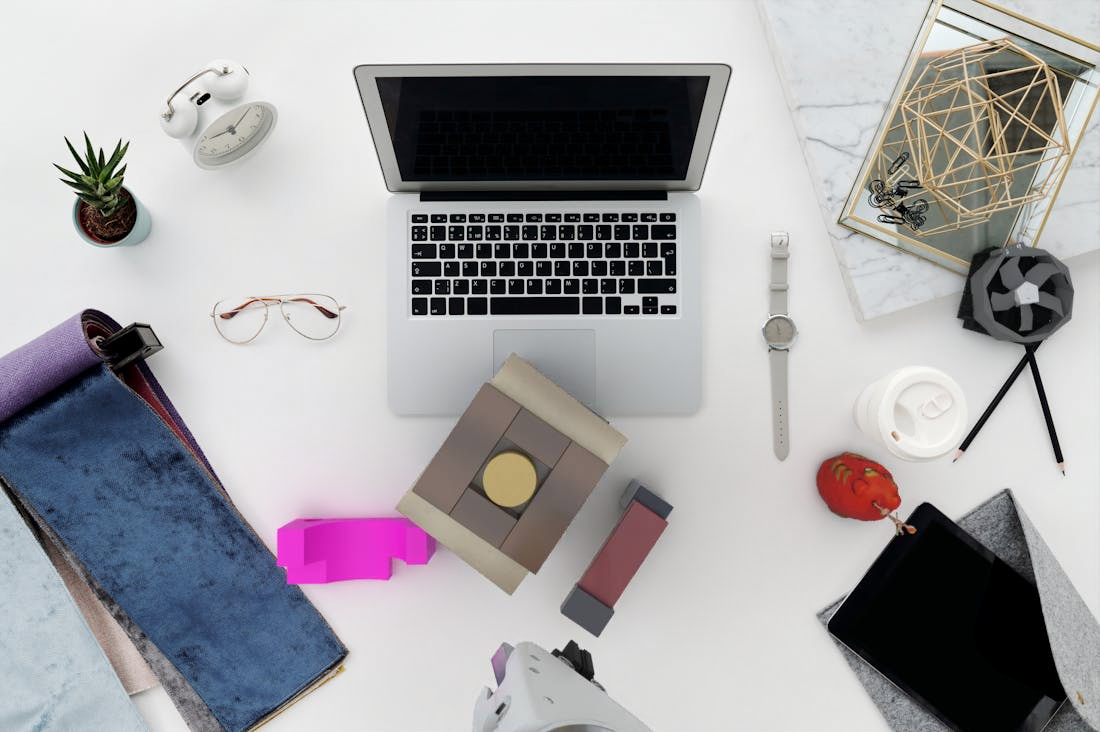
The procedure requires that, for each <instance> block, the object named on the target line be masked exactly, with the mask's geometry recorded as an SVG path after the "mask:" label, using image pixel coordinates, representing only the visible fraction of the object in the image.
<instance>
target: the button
mask: <svg viewBox="0 0 1100 732" xmlns="http://www.w3.org/2000/svg"><path fill="white" fill-rule="evenodd" d="M536 482H537V472H536V467H535V465H534V463H533V461H532V460H531V459H530V458H529V457H528V456H527V455H526V454H524V453H522V452H520V451H516V450H506V451H503V452H500V453H499V454H497V455H496V456H494V457H493V458H492V459H491V461H490V462H489V464H488V465H487V467H486V469H485V471H484V474H483V486H484V489H485V492H486V494H487V495H488V497H489V498H490V499H491V500H492V501H493V502H495V503H497V504H498V505H501V506H505V507H515V506H518V505H521V504H523V503H525V502H526V501H527V500H528V499H529V498H530V497H531V496H532V494H533V493H534V490H535V487H536Z"/></svg>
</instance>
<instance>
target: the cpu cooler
mask: <svg viewBox="0 0 1100 732" xmlns="http://www.w3.org/2000/svg"><path fill="white" fill-rule="evenodd" d="M962 293H963V294H962V296H961V300H960V302H959V307H958V310H957V316H956V318H957V319H960V320H961V321H962V320H963V324H962V326H961V327H962V329H964V330H969V331H972V332H975V333H979V334H982V335H986V336H988V337H992V338H994V339H995V340H996V341H1005V342H1011V343H1013V344H1018V345H1022V346H1025V347H1032V346H1038V345H1039V342H1040V341H1046V340H1049V337H1051V336H1052V335H1053V334H1055V333H1056V332H1057V331H1059V330H1060V329H1062V328H1063V326H1065V325H1066V324H1068V323H1069V322H1070V321H1072V318H1073V309H1074V308H1073V307H1074V297H1075V289H1074V285H1073V281H1072V277H1071V273H1070V269H1069V267H1068V266H1067V265H1066V264H1065V263H1064V262H1062V261H1061V260H1060V259H1058V258H1057V257H1056V256H1054V255H1053V254H1052V253H1050V252H1049V251H1048V250H1046V249H1044V248H1038V247H1032V246H1029V245H1026V243H1025V242H1024V241H1020V242H1017V243H1013V244H1010V245H1007V246H1004V247H1003V246H1002V247H1000V246H996V245H993V246H989V247H986V248H983V249H982V251H980V252H977V253H974V254H973V255H972V260H971V262H970V265H969V270H968V274H967V278H966V280H965V284H964V288H963V291H962Z"/></svg>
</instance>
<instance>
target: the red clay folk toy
mask: <svg viewBox="0 0 1100 732" xmlns="http://www.w3.org/2000/svg"><path fill="white" fill-rule="evenodd" d="M885 467H886V466H884V465H883V464H880V463H879V462H877V461H875V460H872V459H869V458H867V457H866V456H863V455H862V454H858V453H854V452H850V451H845V452H843V453H841V454H840V455H838V456H833V457H831V458H828V459H826V460H825V461H823V462H822V464H821V465H820V468H819V470H818V472H817V474H816V479H815V480H816V488H817V491H818V493H819V495H820V497H821V499H822V500H823V502H824V503H825V504H826V505H827V508H828V509H829V511H830V512H831V513H833V514H835V515H836V516H838V517H840V518H842V519H852V520H858V521H861V522H876V521H877V522H878V521H882V520H884V519H885V518H886V517H888V518H889V519H890V520H891V522H893V524H894V525H895V536H896V537H898V536H899V533H900V535H901V536H903V535H905V532H904V531H903V530H902V527H905V529H906V530H907V532H908V533H909V534H912V535H913V534H915V533H916V532H917V529H916V528H915V526H913V525H910V524H906V523H905V522H903V521H902V520H900V519H899V517H898V516H899V515H898V514H899V513H898V512H895V517H894V516H892V515H891V514H892V513H893V512H894V511H896V510H897V509H898V508H900V506H901V504H902V498H901V496H900V495H899V487H898V484H897V483H896V482H895V481H894V477H893V475H892V473H891V472H890V471H889V470H888V469H887V468H885Z"/></svg>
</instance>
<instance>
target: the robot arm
mask: <svg viewBox="0 0 1100 732" xmlns="http://www.w3.org/2000/svg"><path fill="white" fill-rule="evenodd" d="M490 662H491V666H492V669H493V673H494V678H495V681H496V685H497V688H496V689H495V691H494V692H493V691H492V688H490V687H489V686H487V685H484V686H483V688H482V689H481V691H480V693H479V695H478V696H477V698H476V700H475V702H474V707H473V714H472V715H473V717H472V732H654V731H653V730H652V728H651V727H649V725H648V724H646V723H645V722H644V721H643V720H641V719H640V718H639V717H638V716H636V715H635V714H634V713H632V712H631V711H630V710H628V709H627V708H626V707H624V705H622V704H621V703H619V702H618V701H617V700H615V699H614V698H612V697H611V696H610V695H609V694H608V691H607V690H606V688H605V687H604V686H603V684H601V683H600V682H599V681H597V680H596V679H595V675H596V673H595V669H594V663H593V662H594V661H593V658H592V653H591V652H590V651H588V650H587V649H585V648H584V649H582V648H580V646H579V644H578V643H577V642H576V641H575V640H573V639H570V640H569V641H568V642H567V644H566V645H565V646H564V648H563V649H562V650H560V649H558V648H557V647H556V648H554V649H553V650H552V651H551V652H549V651H548V650H546V649H545V648H543V647H541V646H540V645H539V644H536V643H535V642H533V641H521V642H517V644H516V645H515V646H512V645H511V644H509V643H507V642H505V641H503V642H502V643H501V645H500V646H499V647H498V648H497V650H496V652H495V653H494V654H493V655H492V657H491V658H490Z"/></svg>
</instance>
